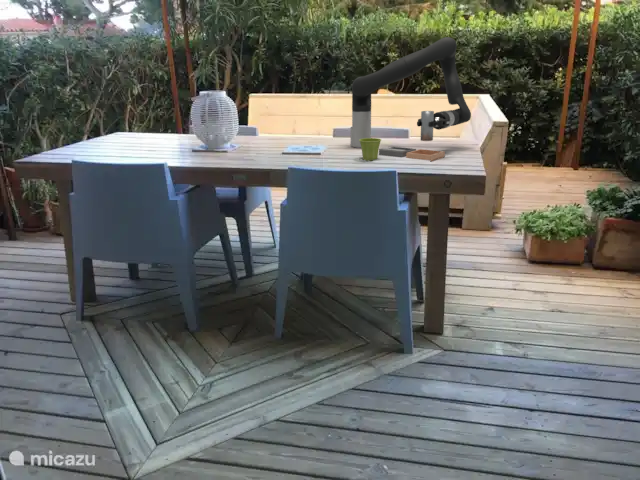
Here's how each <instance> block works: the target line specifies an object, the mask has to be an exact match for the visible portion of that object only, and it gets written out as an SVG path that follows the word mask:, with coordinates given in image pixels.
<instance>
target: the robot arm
mask: <svg viewBox="0 0 640 480" xmlns="http://www.w3.org/2000/svg"><path fill="white" fill-rule="evenodd" d="M457 44H458V43H457V41H456V40H455V38H452V37H450V36H445V37H442V38H440V39H438V40H436V41H435V42H433V43H431V44H430V45H428V46H426V47H425V48H422V49H420V50H417V51H414V52H412V53H409V54H407V55H405V56H403V57H400V58H398V59H396V60H394V61H392V62H390V63H388V64H387V65H386V66H384V67H382V68H381V69H378V70H377V71H375V72H372V73H369V74H367V75H362V76H357V78H355V79H354V80H353V81H352V84H351V89H352V90H351V91H352V92H351V93H352V94H351V97H352V99H351V110H352V112H351V117H352V119H351V120H352V121H351V125H352V126H351V127H350V147H353V148H359V149H362V148H361V144H360V141H359V140H360V139H364V138H372V93H373V92H375V91H376V90H378V89H380V88H382V87H385V86H387V85H390V84H393V83H396V82H398V81H402V80H404V79H406V78H409V77H411V76H412V75H415V74H416V73H418V72H419V71H421V70H422V69H424V68H425V67H426V66H428V65H429V64H431V63H433V62H436V61H439V63H440V64H439V65H440V66H441V69H442V74H443V78H444V79H443V80H444V85H445V91H446V96H447V101H448V104H449V105H452V106H454V105H457V106H458V107H459V108H455V109H450V110H441V111H436V112H434V121H431V122H430V127H433V129H435V130H444V129H447V128H450V127H453V126H457V125H461V124H464V123H467V122H469V121H471V117H472V113H471V110H470V108H469V106H468V104H467V102H466V100H465V98H464V94H463V88H462V83H461V81H460V78H459V74H458V71H457V70H458V69H457V66H456V52H457V46H458V45H457ZM416 126H417V127H421V118H418V119H417V122H416Z"/></svg>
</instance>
